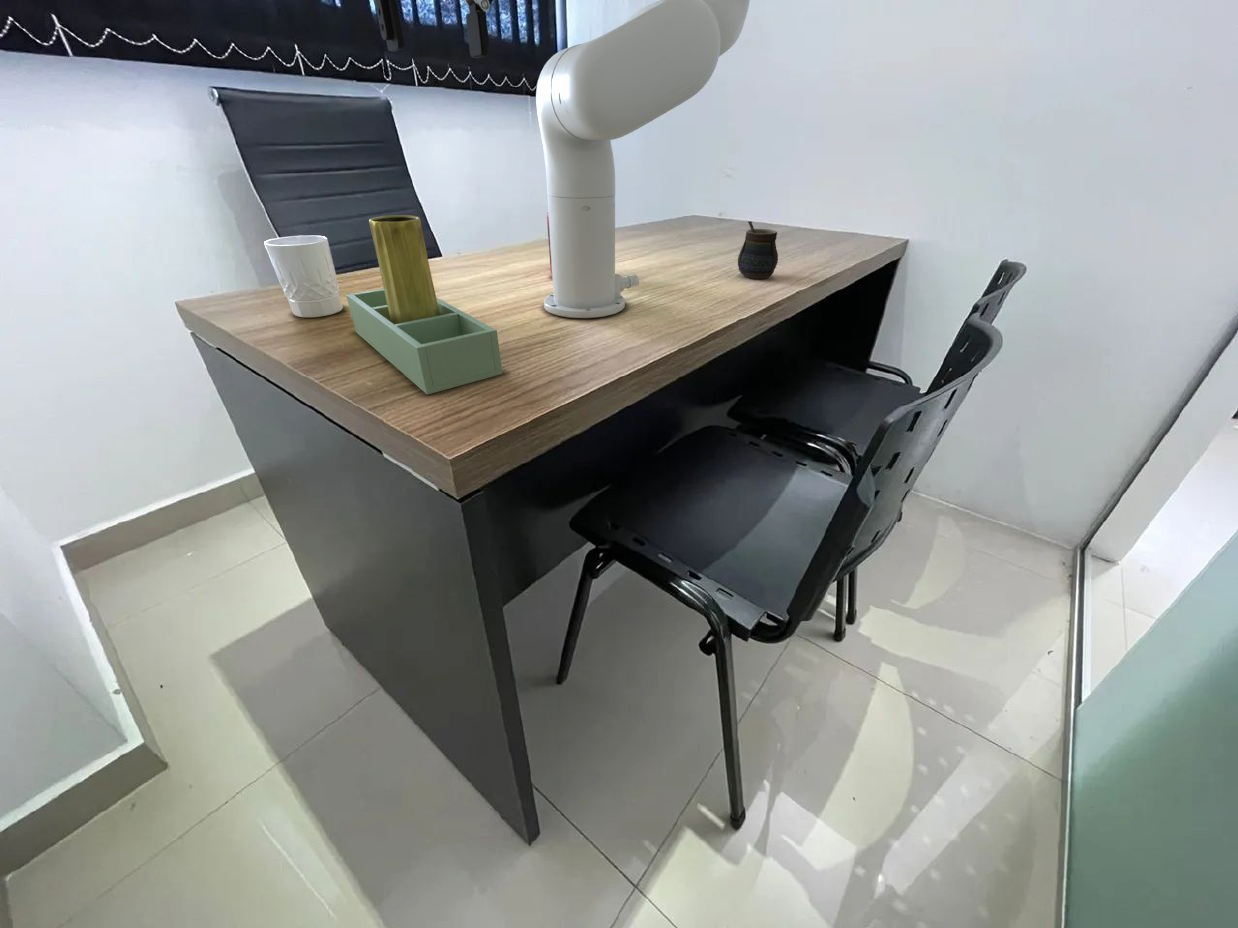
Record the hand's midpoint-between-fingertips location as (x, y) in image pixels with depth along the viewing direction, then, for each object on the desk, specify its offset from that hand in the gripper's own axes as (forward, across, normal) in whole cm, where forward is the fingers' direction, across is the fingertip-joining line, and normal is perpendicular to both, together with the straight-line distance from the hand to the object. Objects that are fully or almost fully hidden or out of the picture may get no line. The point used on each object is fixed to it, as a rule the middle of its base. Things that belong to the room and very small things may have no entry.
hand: (439, 54), depth 57 cm
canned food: (+31, +26, +14) cm, 42 cm away
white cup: (+31, -17, +19) cm, 40 cm away
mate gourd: (+31, +53, -8) cm, 62 cm away
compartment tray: (+30, -11, -7) cm, 33 cm away
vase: (+30, -11, -7) cm, 32 cm away
